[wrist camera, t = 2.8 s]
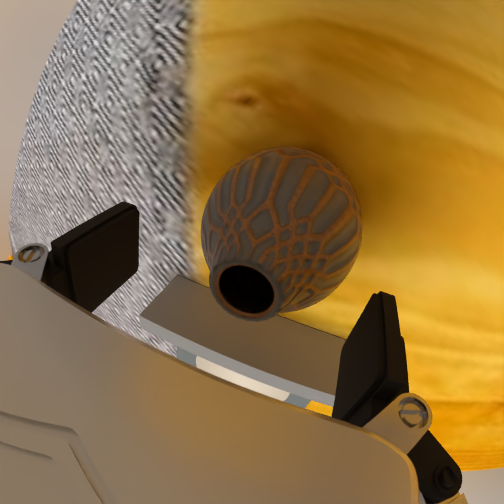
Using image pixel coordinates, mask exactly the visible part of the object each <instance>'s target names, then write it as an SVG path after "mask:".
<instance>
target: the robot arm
mask: <svg viewBox="0 0 504 504" xmlns="http://www.w3.org/2000/svg"><path fill="white" fill-rule="evenodd" d="M51 247H52V251H50V252H49V251H48V248H47V247H46V246H45V245H43V244H40V243H33V244H28V245H25V246H24V247H22V248H20V249H19V250H18V251H17V252H16V254H15V256H14V258H13V260H8V261H0V504H468V503H467V500H466V498H465V495H464V493H463V494H461V495H460V494H459V489H460V488H461V484H462V474H461V470H460V468H459V466H458V465H457V464H456V462H455V461H454V460H453V459H452V458H451V456H450V455H449V454H448V453H447V452H446V450H445V449H444V448H443V447H442V446H441V444H440V443H439V442H438V441H437V440H436V438H435V437H434V436H433V435H432V434H431V432H430V431H429V430H428V429H429V427H430V426H431V424H432V418H433V417H432V411H431V409H430V407H429V405H428V404H427V402H426V401H425V400H424V399H423V398H422V397H420V396H418V395H416V394H414V393H409V383H408V371H407V361H406V352H405V343H404V339H403V337H402V336H401V334H400V326H399V319H398V312H397V306H396V299H395V296H393V295H390V294H387V293H385V292H382V291H380V292H379V293H378V294H375V293H374V294H373V295H372V296H371V298H370V300H369V302H368V303H367V305H366V307H365V309H364V311H363V312H362V314H361V316H360V318H359V319H358V321H357V323H356V325H355V326H354V328H353V330H352V331H351V333H350V335H349V336H348V338H347V340H346V341H345V343H344V345H343V347H342V350H341V355H340V363H339V371H338V379H337V386H336V393H335V400H334V406H333V412H332V417H330V416H327V415H324V414H320V413H317V412H314V411H311V410H307V409H304V408H301V407H298V406H295V405H292V404H289V403H286V402H284V401H281V400H278V399H275V398H272V397H269V396H267V395H264V394H261V393H258V392H256V391H253V390H250V389H248V388H245V387H242V386H240V385H237V384H235V383H232V382H230V381H227V380H225V379H222V378H220V377H218V376H215V375H213V374H210V373H208V372H206V371H204V370H201V369H199V368H197V367H195V366H192V365H190V364H188V363H186V362H183V361H181V360H179V359H177V358H175V357H173V356H171V355H169V354H167V353H165V352H162V351H160V350H158V349H156V348H154V347H152V346H150V345H148V344H147V343H145V342H143V341H141V340H139V339H137V338H135V337H133V336H131V335H129V334H128V333H126V332H124V331H122V330H120V329H118V328H117V327H115V326H113V325H111V324H109V323H108V322H106V321H104V320H102V319H101V318H99V317H97V316H96V315H94V314H92V312H93V311H94V310H95V309H96V308H97V307H98V306H99V305H100V304H101V303H103V302H104V301H105V300H106V299H107V298H108V297H109V296H110V295H111V294H112V293H114V292H115V291H116V290H117V289H118V288H119V287H120V286H121V285H123V284H124V283H125V282H126V281H127V280H128V279H129V278H130V277H132V276H133V275H134V274H135V273H136V272H137V270H138V266H139V211H138V210H137V207H136V206H135V205H133V204H130V203H127V202H121V203H119V204H117V205H115V206H113V207H111V208H109V209H108V210H106V211H104V212H102V213H100V214H98V215H96V216H95V217H93V218H91V219H89V220H88V221H86V222H84V223H82V224H80V225H79V226H77V227H75V228H74V229H72V230H70V231H68V232H67V233H65V234H63V235H62V236H60V237H58V238H57V239H55V240H54V241H52V242H51Z"/></svg>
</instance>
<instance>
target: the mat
mask: <svg viewBox="0 0 504 504" xmlns="http://www.w3.org/2000/svg"><path fill="white" fill-rule="evenodd" d="M177 359H179V360H181V361H183V362H186V363H188V364H190V365H192V366H195V367H197V368H199V369H201V370H204V371H206V372H208V373H210V374H213V375H215V376H218V377H220V378H222V379H225V380H227V381H230V382H232V383H235V384H237V385H240V386H242V387H245V388H248V389H250V390H253V391H256V392H258V393H261V394H264V395H267V396H269V397H272V398H275V399H278V400H281V401H284V402H286V403H289V404H292V405H295V406H298V407H301V408H305V407H306V406H307V405H308V403H309V402H310V401H311V400H310V399H307V398H303V397H300V396H297V395H295V394H292V393H289V392H286V391H283V390H280V389H277V388H275V387H272V386H269V385H267V384H264V383H261V382H259V381H256V380H253V379H251V378H248V377H246V376H243V375H241V374H238V373H236V372H234V371H231V370H229V369H226V368H224V367H222V366H219V365H217V364H215V363H212V362H210V361H208V360H206V359H203V358H201V357H199V356H197V355H195V354H193V353H190V352H188V351H186V350H184V349H182V348H180V347H178V346H177Z"/></svg>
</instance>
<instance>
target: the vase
mask: <svg viewBox="0 0 504 504" xmlns="http://www.w3.org/2000/svg"><path fill="white" fill-rule="evenodd" d="M361 239H362V214H361V209H360V205H359V201H358V198H357V195H356V192H355V190H354V188H353V186H352V185H351V183H350V181H349V180H348V178H347V177H346V176H345V175H344V173H343V172H342V171H341V170H340V169H339V168H338V167H337V166H336V165H335V164H333V163H332V162H331V161H329V160H328V159H326V158H325V157H323V156H321V155H319V154H317V153H315V152H312V151H309V150H306V149H302V148H296V147H276V148H270V149H266V150H262V151H260V152H257V153H254V154H252V155H250V156H248V157H246V158H244V159H243V160H241V161H240V162H238V163H237V164H235V165H234V166H233V167H231V168H230V169H229V170H228V171H227V172H226V173H225V174H224V175H223V177H222V178H221V179H220V180H219V182H218V183H217V185H216V186H215V188H214V189H213V191H212V193H211V195H210V197H209V199H208V202H207V204H206V207H205V210H204V214H203V218H202V225H201V241H202V249H203V253H204V257H205V260H206V263H207V265H208V268H209V270H210V276H209V284H210V289H211V292H212V295H213V297H214V299H215V300H216V302H217V303H218V304H219V305H220V307H221V308H222V309H224V310H225V311H226V312H227V313H229V314H230V315H232V316H234V317H236V318H238V319H241V320H244V321H249V322H261V321H265V320H268V319H270V318H272V317H274V316H276V315H277V314H279V313H284V312H292V311H297V310H301V309H304V308H307V307H309V306H312V305H314V304H316V303H318V302H320V301H321V300H323V299H324V298H326V297H327V296H328V295H330V294H331V293H332V292H333V291H334V290H335V289H336V288H337V287H338V286H339V285H340V284H341V283H342V281H343V280H344V279H345V277H346V276H347V275H348V273H349V272H350V270H351V268H352V266H353V264H354V262H355V260H356V258H357V255H358V252H359V249H360V245H361Z"/></svg>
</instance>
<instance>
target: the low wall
mask: <svg viewBox="0 0 504 504" xmlns="http://www.w3.org/2000/svg"><path fill="white" fill-rule="evenodd" d="M139 318H140V328H142V329H144V330H146V331H148V332H150V333H152V334H154V335H156V336H158V337H160V338H162V339H164V340H166V341H168V342H170V343H172V344H174V345H176V346H178V347H180V348H182V349H184V350H186V351H188V352H190V353H193V354H195V355H197V356H199V357H201V358H203V359H206V360H208V361H210V362H212V363H215V364H217V365H219V366H222V367H224V368H226V369H229V370H231V371H234V372H236V373H238V374H241V375H243V376H246V377H248V378H251V379H253V380H256V381H259V382H261V383H264V384H267V385H269V386H272V387H275V388H277V389H280V390H283V391H286V392H289V393H292V394H295V395H297V396H300V397H303V398H307V399H310V400H313V401H316V402H319V403H322V404H326V405H329V406H332V407H333V406H334V400H335V393H336V386H337V379H338V371H339V363H340V355H341V350H342V347H343V345H344V343H345V341H346V340H345V339H343V338H340V337H337V336H334V335H331V334H328V333H325V332H322V331H320V330H317V329H314V328H311V327H308V326H306V325H303V324H300V323H297V322H295V321H292V320H289V319H287V318H284V317H281V316H279V315H276V316H274V317H272V318H270V319H268V320H265V321H261V322H249V321H244V320H241V319H238V318H236V317H234V316H232V315H230V314H229V313H227V312H226V311H225V310H224V309H222V308H221V307H220V305H219V304H218V303H217V302H216V300H215V299H214V297H213V295H212V292H211V289H210V288H208V287H205V286H203V285H200V284H198V283H196V282H193V281H191V280H188V279H186V278H184V277H181V276H179V275H177V276H176V277H175V278H174V279H173V280H172V281H171V282H170V283H169V284H168V285H167V286H166V288H165V289H164V290H163V291H162V292H161V293H160V294H159V295H158V296H157V297H156V298H155V299H154V300H153V301H152V302H151V303H150V304H149V305H148V306H147V308H146V309H145V310H144V311H143V312H142V313H141V314H140V315H139Z"/></svg>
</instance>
